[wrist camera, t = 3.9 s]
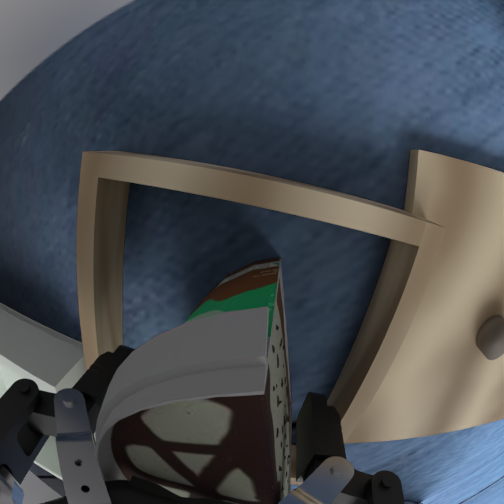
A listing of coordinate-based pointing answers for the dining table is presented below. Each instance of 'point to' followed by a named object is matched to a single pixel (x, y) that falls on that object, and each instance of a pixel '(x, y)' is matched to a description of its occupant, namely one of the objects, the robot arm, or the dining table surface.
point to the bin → (38, 365)
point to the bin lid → (449, 311)
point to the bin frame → (266, 196)
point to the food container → (208, 398)
